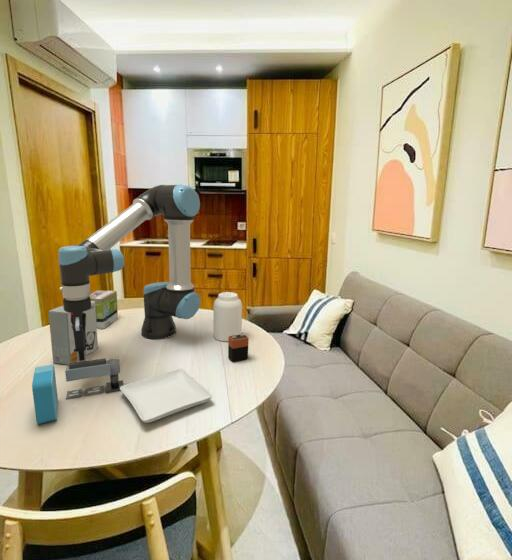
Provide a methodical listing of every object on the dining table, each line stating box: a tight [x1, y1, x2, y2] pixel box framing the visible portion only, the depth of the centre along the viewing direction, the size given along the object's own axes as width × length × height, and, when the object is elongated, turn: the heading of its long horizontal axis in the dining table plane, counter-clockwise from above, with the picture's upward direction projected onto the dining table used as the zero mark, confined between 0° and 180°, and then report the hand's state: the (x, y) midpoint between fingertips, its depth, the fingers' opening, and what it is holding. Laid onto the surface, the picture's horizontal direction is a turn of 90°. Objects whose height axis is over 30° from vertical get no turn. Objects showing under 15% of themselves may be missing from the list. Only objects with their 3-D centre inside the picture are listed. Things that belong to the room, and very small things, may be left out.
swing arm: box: [64, 358, 121, 382], centre depth 102 cm, size 15×4×5 cm, turn 113°
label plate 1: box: [65, 388, 83, 400], centre depth 102 cm, size 4×4×1 cm
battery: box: [227, 332, 250, 363], centre depth 128 cm, size 4×7×10 cm, turn 118°
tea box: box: [89, 289, 119, 330], centre depth 159 cm, size 15×10×15 cm
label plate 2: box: [84, 385, 104, 397], centre depth 104 cm, size 5×4×1 cm
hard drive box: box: [48, 301, 99, 366], centre depth 125 cm, size 16×8×20 cm, turn 168°
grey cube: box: [105, 374, 124, 394], centre depth 106 cm, size 5×5×5 cm
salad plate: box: [120, 368, 213, 423], centre depth 101 cm, size 21×21×3 cm
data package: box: [31, 363, 59, 425], centre depth 92 cm, size 12×4×12 cm, turn 29°
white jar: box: [212, 291, 243, 342], centre depth 147 cm, size 12×12×20 cm
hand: (83, 367), depth 107 cm, fingers closed
